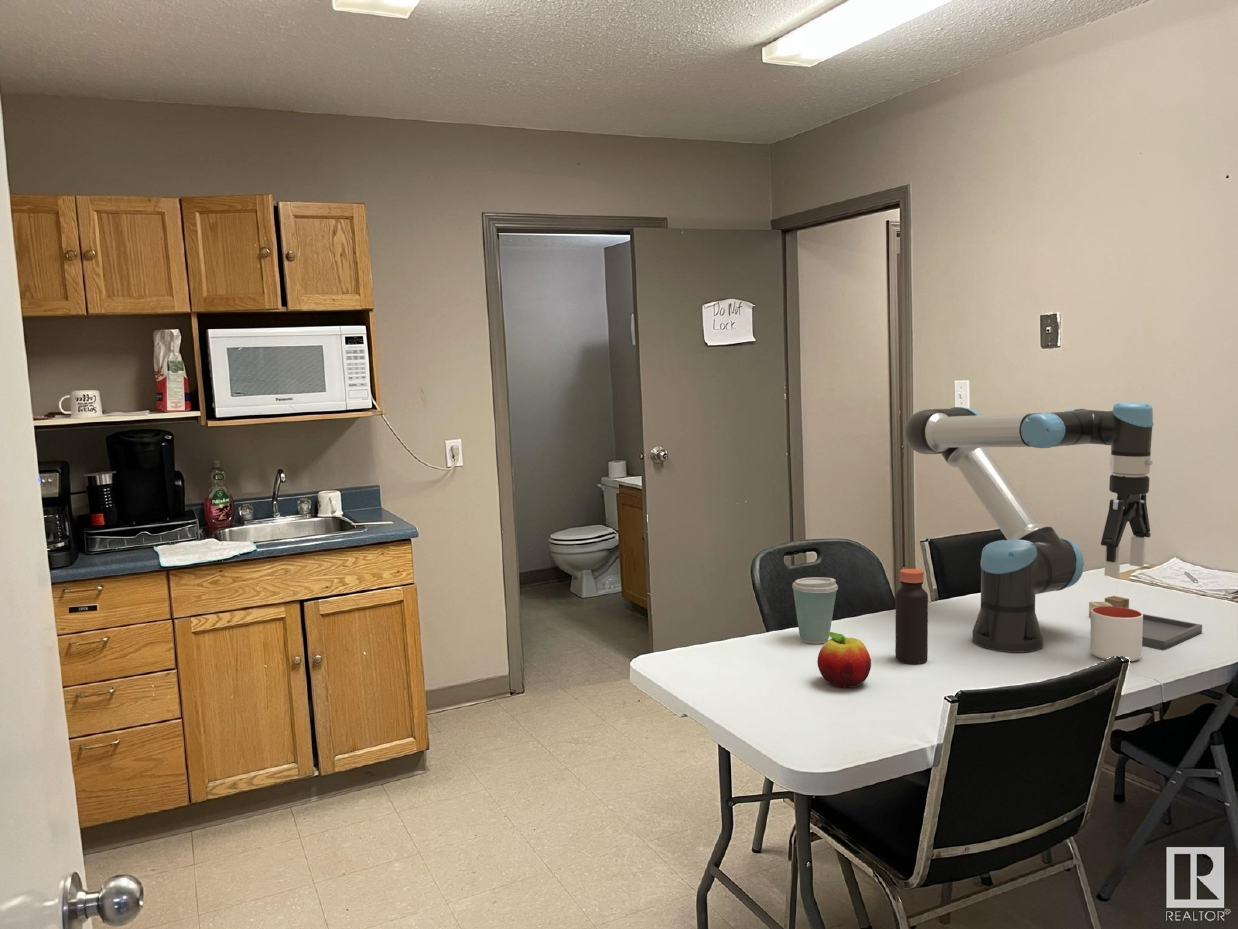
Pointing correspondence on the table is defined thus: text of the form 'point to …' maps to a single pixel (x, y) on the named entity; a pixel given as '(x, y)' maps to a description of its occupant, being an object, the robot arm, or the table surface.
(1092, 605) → the maple block
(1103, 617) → the cup
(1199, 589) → the table surface
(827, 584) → the disposable coffee cup
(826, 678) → the fruit
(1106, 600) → the walnut block
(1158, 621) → the tray
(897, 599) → the bottle
